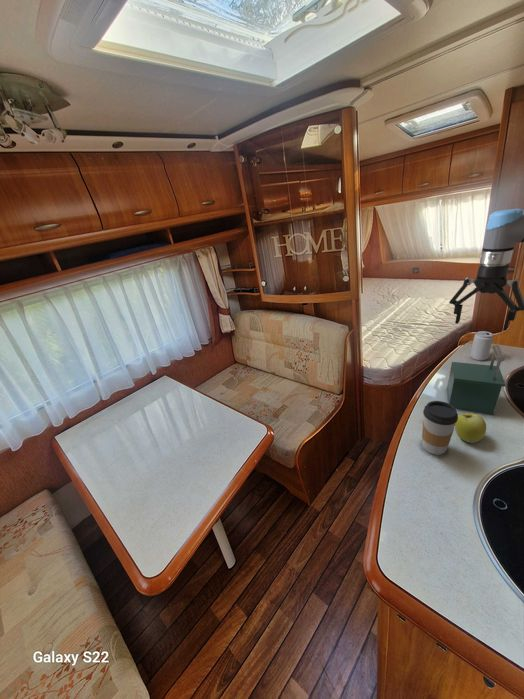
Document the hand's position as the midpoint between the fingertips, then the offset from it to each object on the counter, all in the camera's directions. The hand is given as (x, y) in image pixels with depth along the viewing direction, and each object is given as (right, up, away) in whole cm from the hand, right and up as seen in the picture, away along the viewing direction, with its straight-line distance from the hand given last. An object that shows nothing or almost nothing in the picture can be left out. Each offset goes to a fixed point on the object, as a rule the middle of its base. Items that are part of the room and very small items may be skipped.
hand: (480, 325), depth 95 cm
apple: (-13, -36, -10) cm, 39 cm away
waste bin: (-2, -27, +3) cm, 28 cm away
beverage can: (+21, -12, +26) cm, 36 cm away
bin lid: (-3, -17, -2) cm, 17 cm away
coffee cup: (-24, -39, -12) cm, 47 cm away
